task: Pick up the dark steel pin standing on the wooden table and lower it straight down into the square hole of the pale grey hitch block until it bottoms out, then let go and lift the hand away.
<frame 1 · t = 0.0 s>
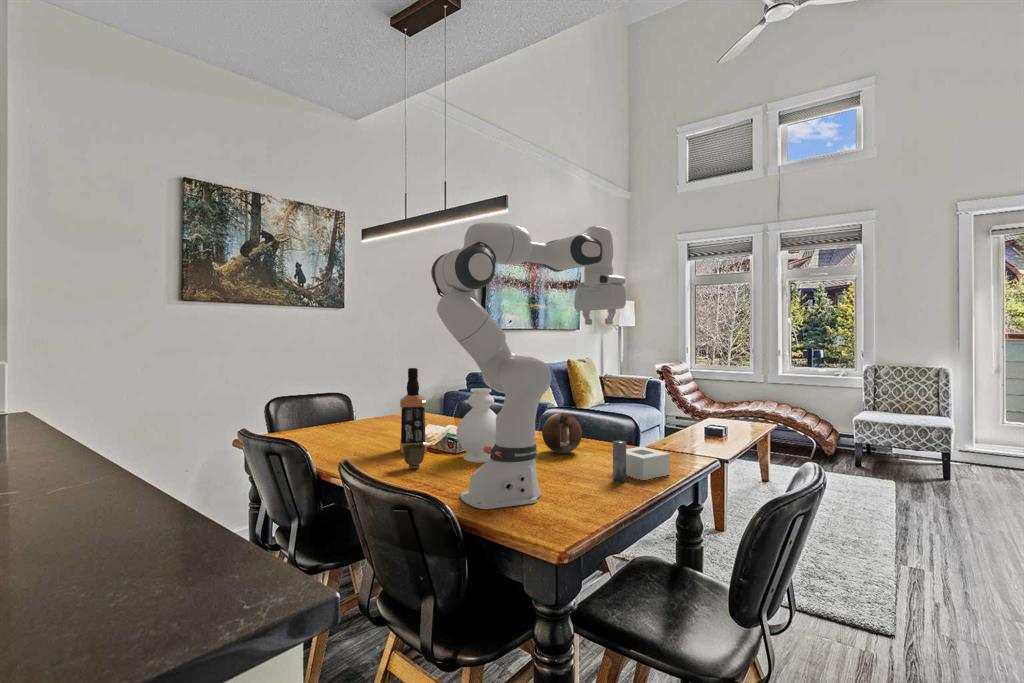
hand: (598, 324, 161), 48 cm above the table, tool pointing down, fingers open, 8 cm apart
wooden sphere: (562, 453, 195), on the table
whiskey bottle: (413, 452, 198), on the table
steel pin: (619, 481, 158), on the table
decorative vase: (481, 458, 187), on the table
cup: (414, 469, 172), on the table
hitch block: (642, 473, 166), on the table
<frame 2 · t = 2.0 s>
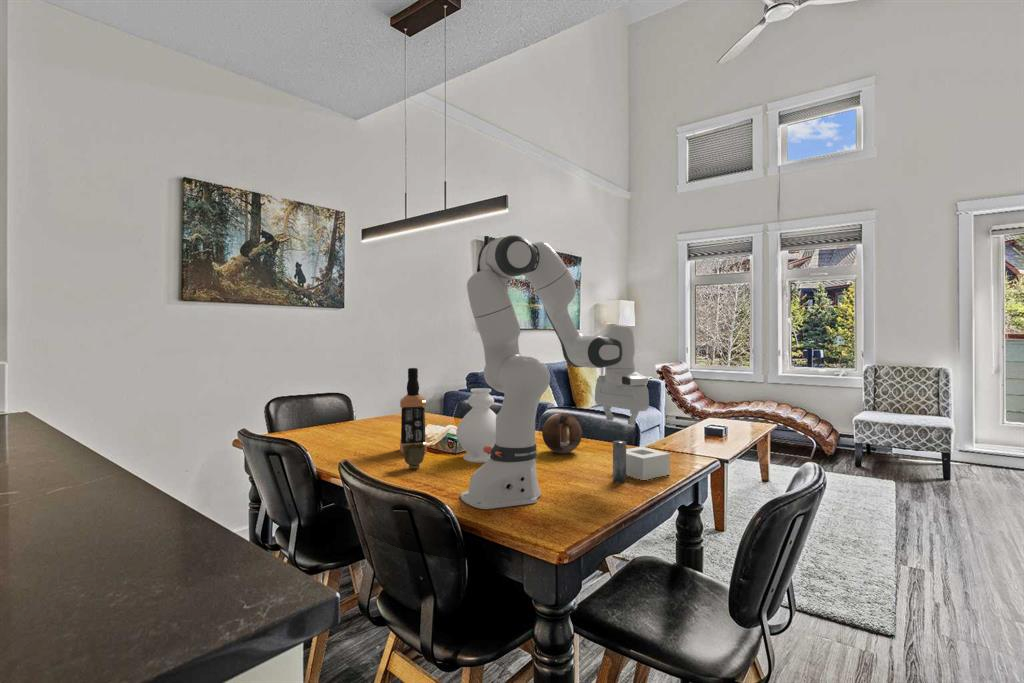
hand: (620, 422, 158), 18 cm above the table, tool pointing down, fingers open, 8 cm apart
nothing on the table moved.
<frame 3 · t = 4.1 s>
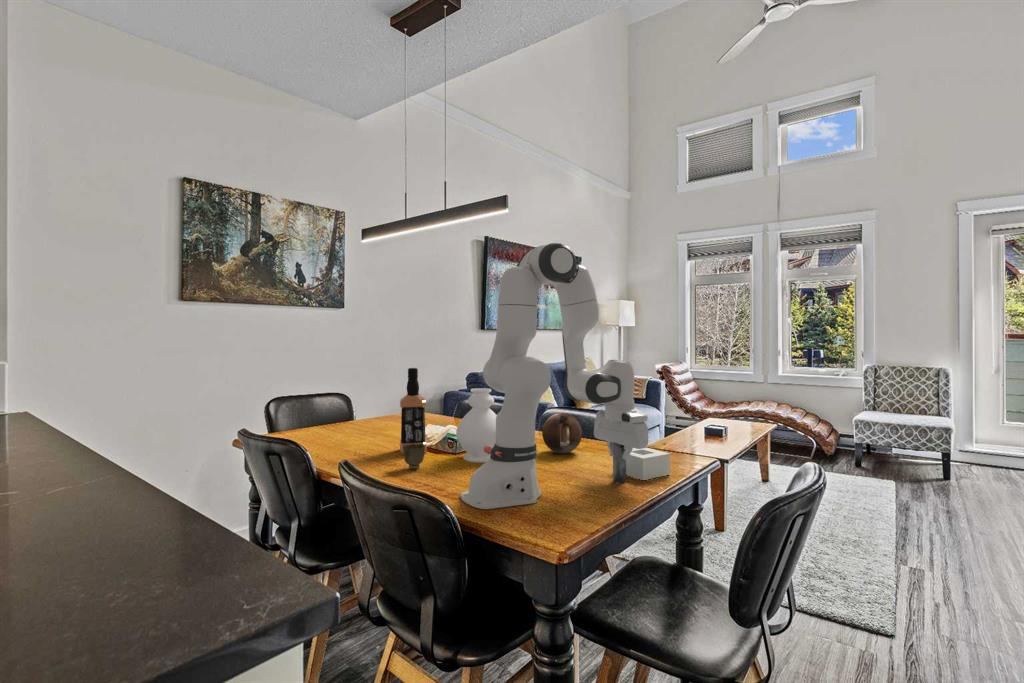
hand: (619, 458, 158), 7 cm above the table, tool pointing down, fingers closed on steel pin, 4 cm apart
steel pin: (619, 481, 158), on the table, touching gripper
everything else where it was.
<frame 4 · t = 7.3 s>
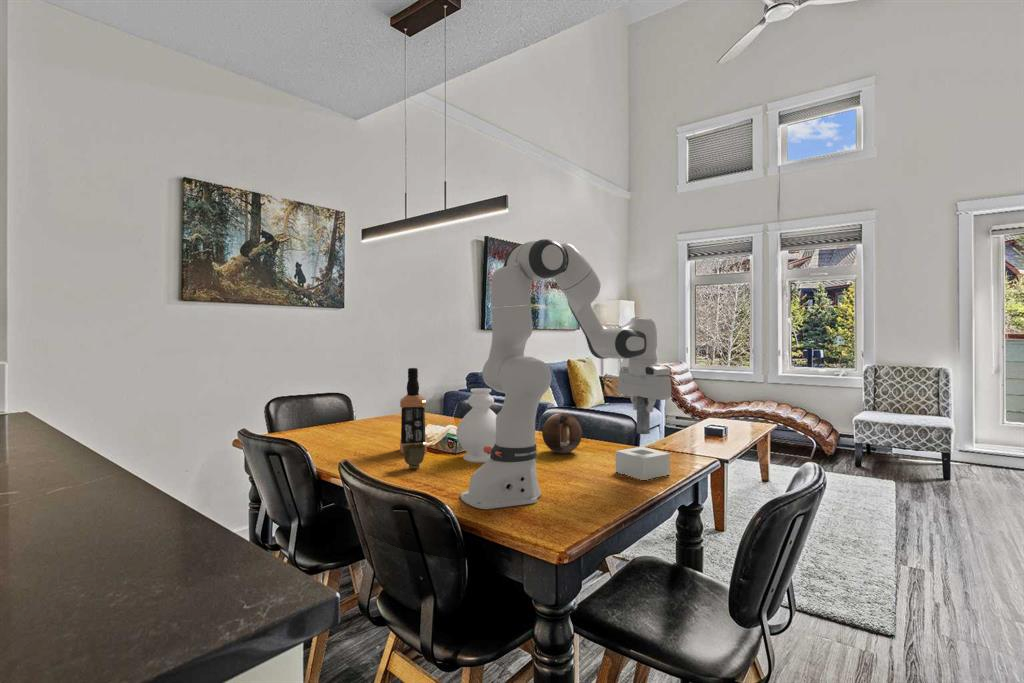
hand: (642, 411, 166), 20 cm above the table, tool pointing down, fingers closed on steel pin, 4 cm apart
steel pin: (643, 432, 166), point 13 cm above the table, touching gripper
everything else where it was.
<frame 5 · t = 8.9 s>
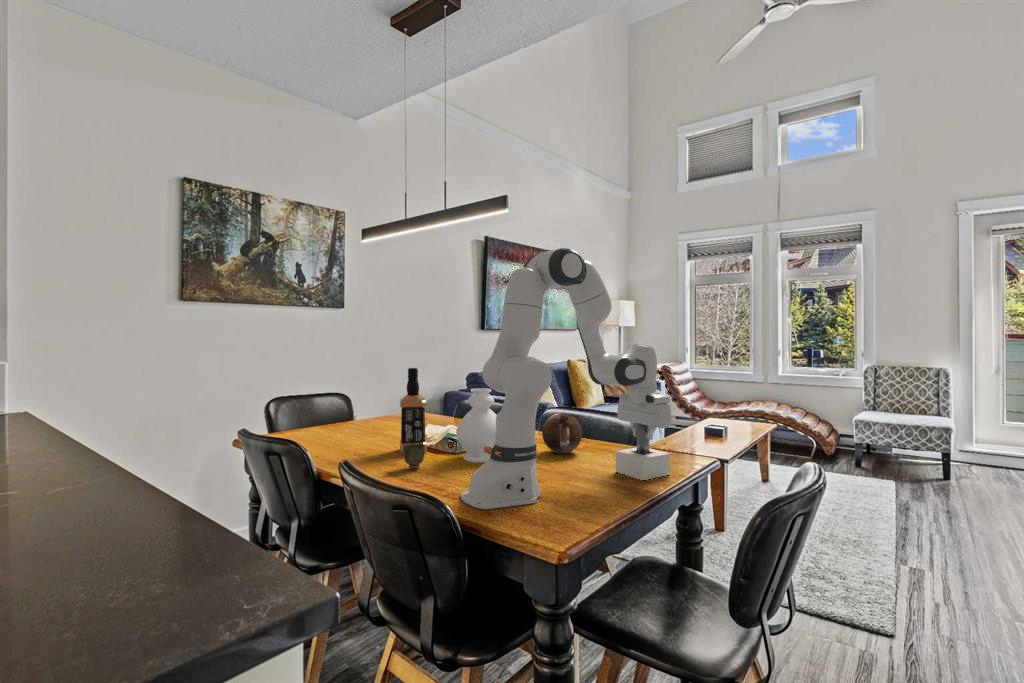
hand: (642, 437, 166), 12 cm above the table, tool pointing down, fingers closed on steel pin, 4 cm apart
steel pin: (643, 459, 166), point 5 cm above the table, touching gripper
everything else where it was.
when the fingers open (9 cm above the table, at t = 10.5 s): steel pin drops 2 cm, resting in hitch block.
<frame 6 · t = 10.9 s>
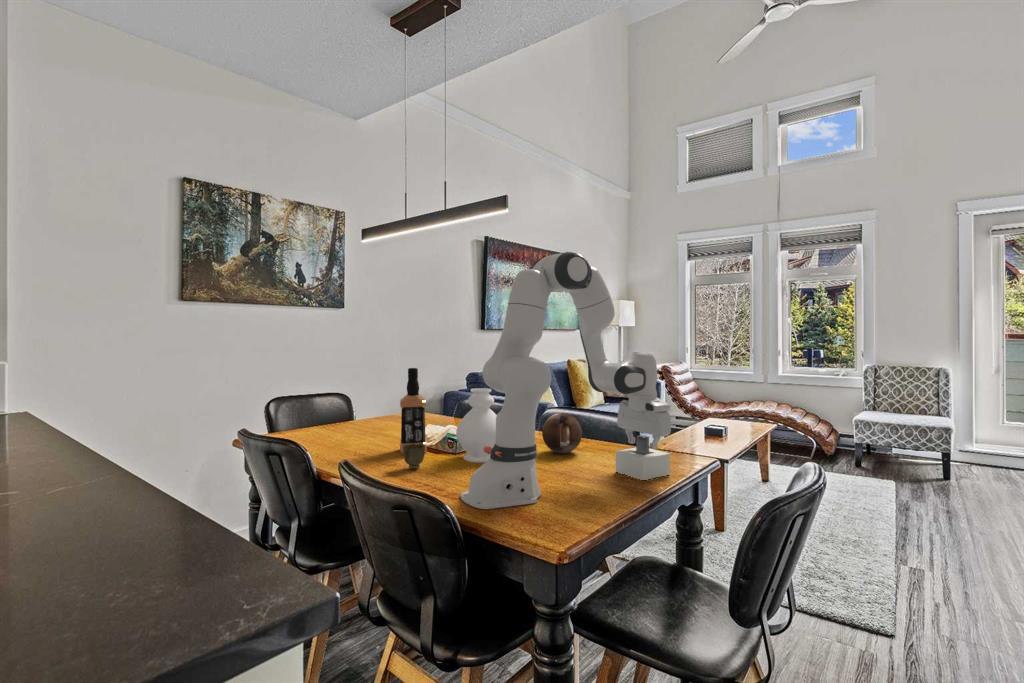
hand: (642, 445, 166), 9 cm above the table, tool pointing down, fingers open, 8 cm apart
steel pin: (642, 473, 166), resting in hitch block
everything else where it was.
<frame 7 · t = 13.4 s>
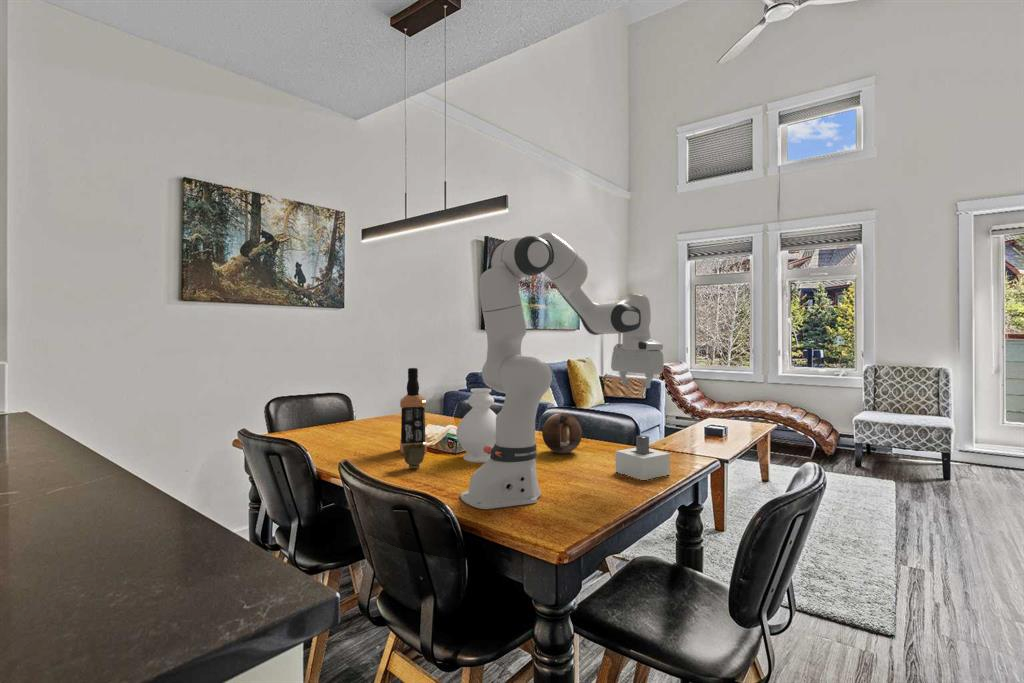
hand: (635, 386, 167), 28 cm above the table, tool pointing down, fingers open, 8 cm apart
nothing on the table moved.
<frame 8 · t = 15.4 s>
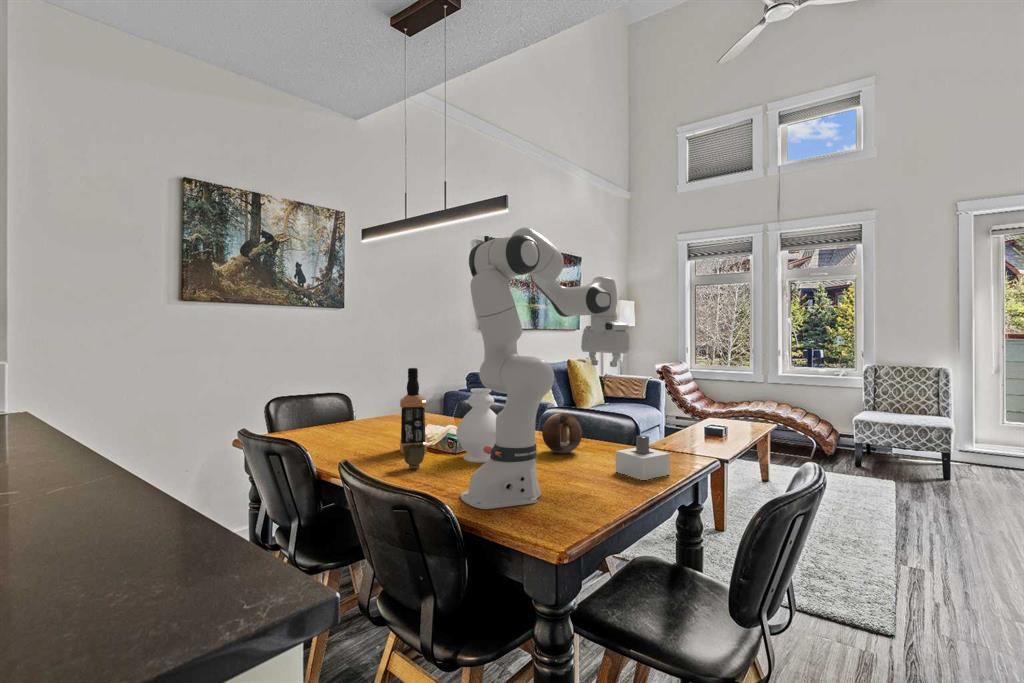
hand: (603, 366, 175), 34 cm above the table, tool pointing down, fingers open, 8 cm apart
nothing on the table moved.
at the end: steel pin 0.0 cm from the hitch block (horizontally); steel pin resting in hitch block; the gripper is holding nothing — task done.
